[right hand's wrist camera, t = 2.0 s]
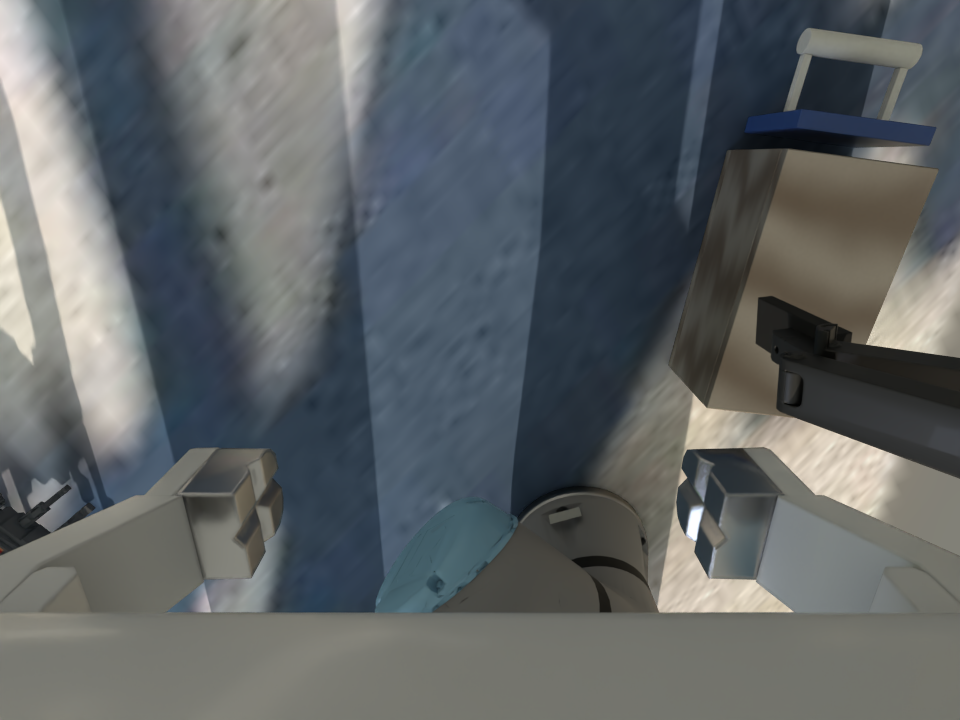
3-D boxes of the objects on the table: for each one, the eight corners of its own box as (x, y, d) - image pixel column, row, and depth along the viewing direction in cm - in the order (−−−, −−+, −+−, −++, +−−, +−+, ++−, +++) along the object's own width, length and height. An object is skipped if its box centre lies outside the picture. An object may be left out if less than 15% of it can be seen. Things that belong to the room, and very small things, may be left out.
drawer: (770, 37, 40) (832, 12, 33) (889, 54, 41) (975, 33, 34) (687, 333, 49) (722, 363, 42) (785, 345, 50) (836, 376, 43)
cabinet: (726, 149, 44) (788, 148, 35) (849, 166, 45) (939, 168, 36) (667, 365, 51) (706, 408, 43) (773, 377, 52) (833, 422, 43)
